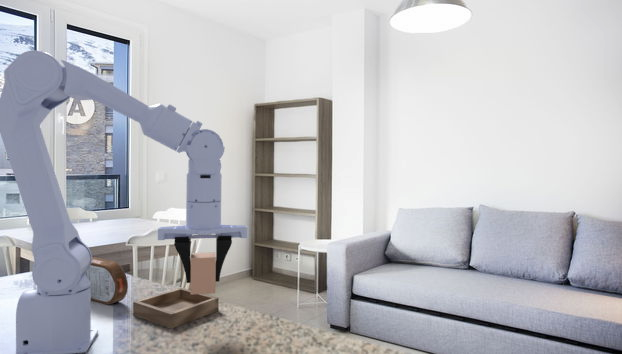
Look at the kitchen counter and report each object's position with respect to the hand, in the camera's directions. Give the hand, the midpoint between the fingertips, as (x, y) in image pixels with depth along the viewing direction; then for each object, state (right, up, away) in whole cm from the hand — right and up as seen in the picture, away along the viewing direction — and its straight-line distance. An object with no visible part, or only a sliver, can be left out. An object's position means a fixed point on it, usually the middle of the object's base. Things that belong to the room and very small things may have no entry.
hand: (203, 280), depth 72 cm
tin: (-25, -8, +15) cm, 31 cm away
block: (0, -2, 0) cm, 2 cm away
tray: (-7, -8, +8) cm, 14 cm away
